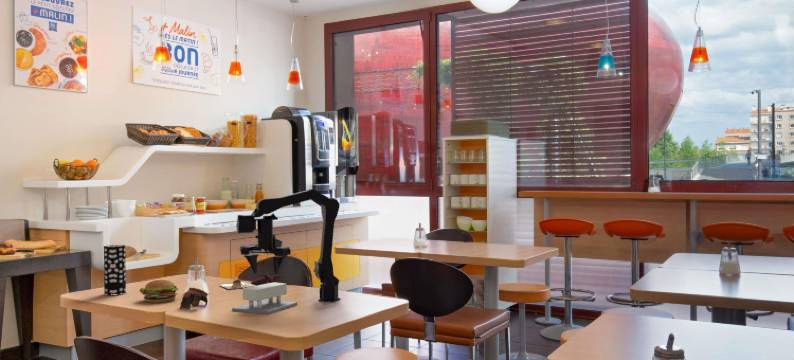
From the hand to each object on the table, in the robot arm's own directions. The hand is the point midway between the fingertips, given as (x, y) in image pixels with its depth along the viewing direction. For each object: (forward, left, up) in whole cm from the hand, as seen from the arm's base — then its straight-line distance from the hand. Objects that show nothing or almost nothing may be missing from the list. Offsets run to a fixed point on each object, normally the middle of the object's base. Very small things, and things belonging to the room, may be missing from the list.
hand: (265, 273), depth 250 cm
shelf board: (-2, +4, -8) cm, 9 cm away
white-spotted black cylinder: (+75, +2, -12) cm, 76 cm away
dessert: (+38, -31, -13) cm, 50 cm away
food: (+47, +6, -12) cm, 49 cm away
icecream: (+21, -29, -12) cm, 38 cm away
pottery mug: (+23, +12, -12) cm, 29 cm away
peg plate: (-2, +4, -12) cm, 13 cm away
